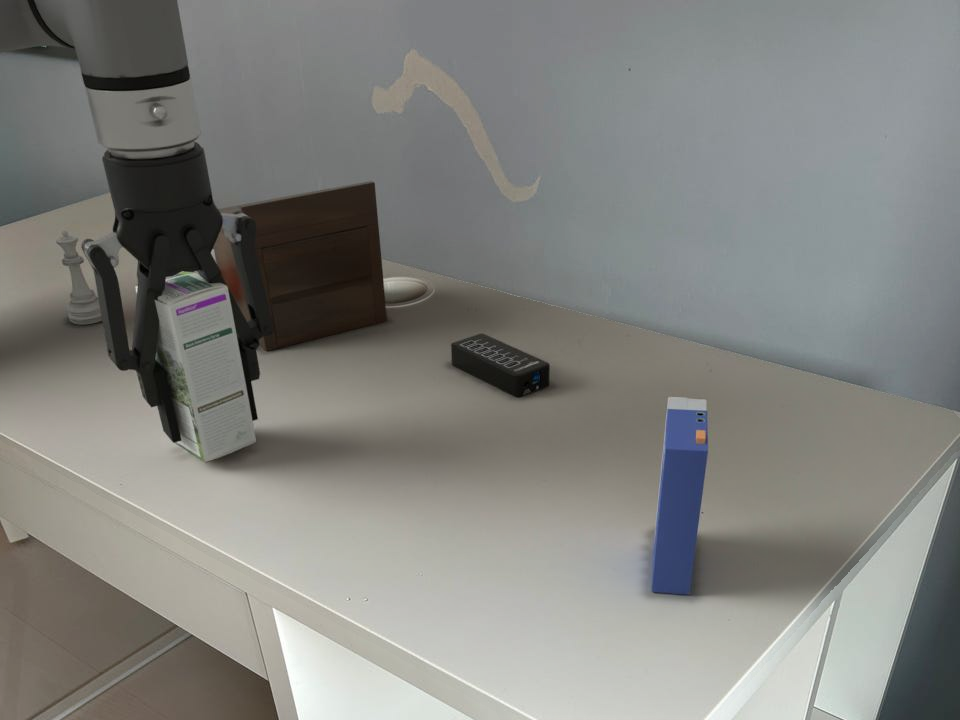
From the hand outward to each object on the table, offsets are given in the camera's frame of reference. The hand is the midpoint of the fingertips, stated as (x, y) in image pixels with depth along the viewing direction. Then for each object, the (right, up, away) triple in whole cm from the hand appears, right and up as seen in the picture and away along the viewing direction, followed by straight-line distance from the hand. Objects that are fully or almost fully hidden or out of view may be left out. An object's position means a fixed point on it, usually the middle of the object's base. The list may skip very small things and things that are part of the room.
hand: (210, 424), depth 88 cm
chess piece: (-22, +19, +29) cm, 41 cm away
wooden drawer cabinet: (+4, +18, +26) cm, 32 cm away
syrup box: (0, -2, +1) cm, 2 cm away
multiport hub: (+26, +8, +13) cm, 30 cm away
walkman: (+39, -14, -14) cm, 43 cm away
